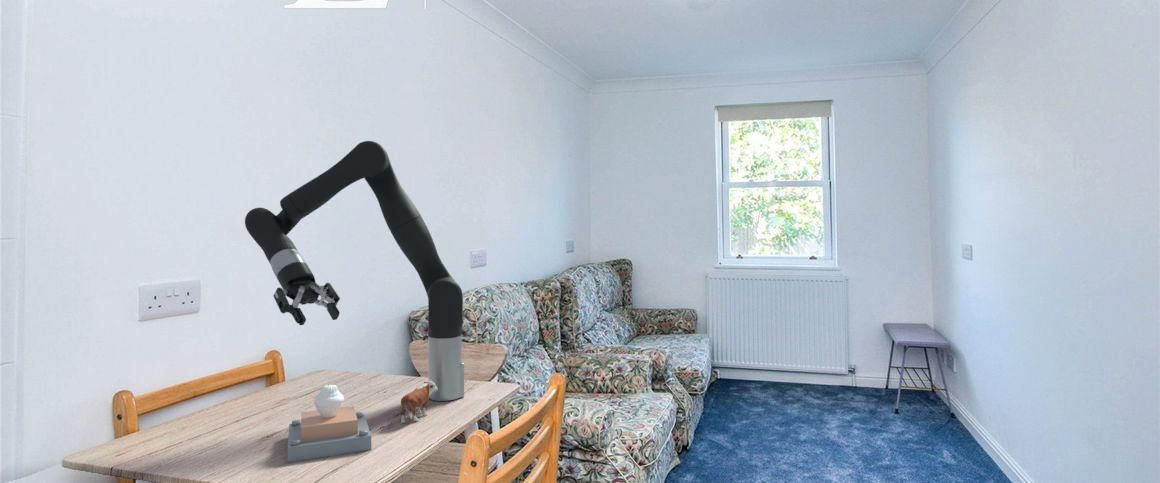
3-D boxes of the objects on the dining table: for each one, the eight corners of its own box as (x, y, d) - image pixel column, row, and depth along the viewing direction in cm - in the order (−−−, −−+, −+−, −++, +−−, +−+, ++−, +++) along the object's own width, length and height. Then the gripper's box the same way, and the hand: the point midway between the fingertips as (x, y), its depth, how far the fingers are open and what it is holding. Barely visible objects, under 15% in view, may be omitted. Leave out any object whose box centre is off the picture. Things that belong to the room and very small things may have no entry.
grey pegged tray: (364, 426, 140) (364, 401, 140) (371, 449, 126) (371, 421, 125) (289, 437, 133) (289, 410, 133) (287, 462, 119) (287, 432, 119)
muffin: (313, 413, 131) (312, 382, 131) (342, 409, 134) (342, 379, 133) (314, 421, 125) (314, 389, 125) (345, 417, 128) (345, 385, 128)
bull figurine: (440, 410, 153) (440, 379, 153) (409, 426, 140) (409, 392, 140) (426, 408, 154) (426, 377, 154) (394, 424, 142) (394, 391, 142)
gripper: (268, 262, 139) (297, 314, 133) (324, 259, 151) (353, 306, 145) (257, 284, 142) (285, 335, 136) (313, 279, 154) (340, 325, 148)
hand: (320, 320), depth 140 cm, fingers open, 8 cm apart
